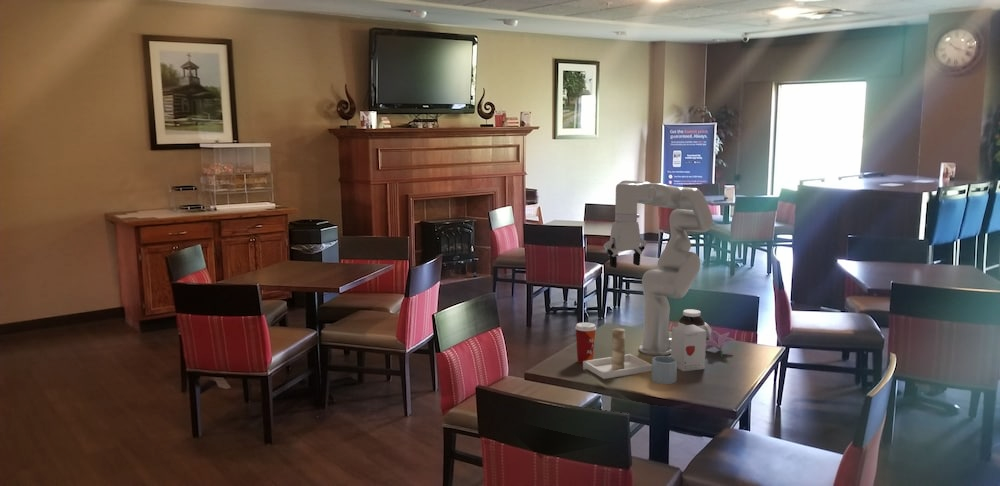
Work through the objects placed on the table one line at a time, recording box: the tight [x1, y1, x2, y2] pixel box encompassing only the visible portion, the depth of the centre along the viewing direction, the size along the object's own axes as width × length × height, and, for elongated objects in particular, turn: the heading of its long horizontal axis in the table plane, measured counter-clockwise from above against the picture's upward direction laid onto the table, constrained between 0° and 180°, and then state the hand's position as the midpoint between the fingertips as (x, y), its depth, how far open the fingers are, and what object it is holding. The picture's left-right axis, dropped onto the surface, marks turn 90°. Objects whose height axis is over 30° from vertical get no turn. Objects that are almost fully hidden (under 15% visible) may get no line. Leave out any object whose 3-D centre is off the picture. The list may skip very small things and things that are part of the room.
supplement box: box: [670, 325, 707, 372], centre depth 258 cm, size 9×9×15 cm
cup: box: [650, 355, 678, 385], centre depth 245 cm, size 8×8×8 cm
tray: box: [582, 353, 652, 380], centre depth 257 cm, size 20×14×3 cm
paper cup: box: [574, 322, 597, 365], centre depth 266 cm, size 8×8×14 cm
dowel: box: [611, 327, 626, 370], centre depth 256 cm, size 4×4×14 cm
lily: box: [706, 330, 735, 357], centre depth 275 cm, size 12×12×10 cm
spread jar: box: [677, 308, 713, 340], centre depth 294 cm, size 12×11×12 cm
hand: (624, 265), depth 259 cm, fingers open, 9 cm apart
